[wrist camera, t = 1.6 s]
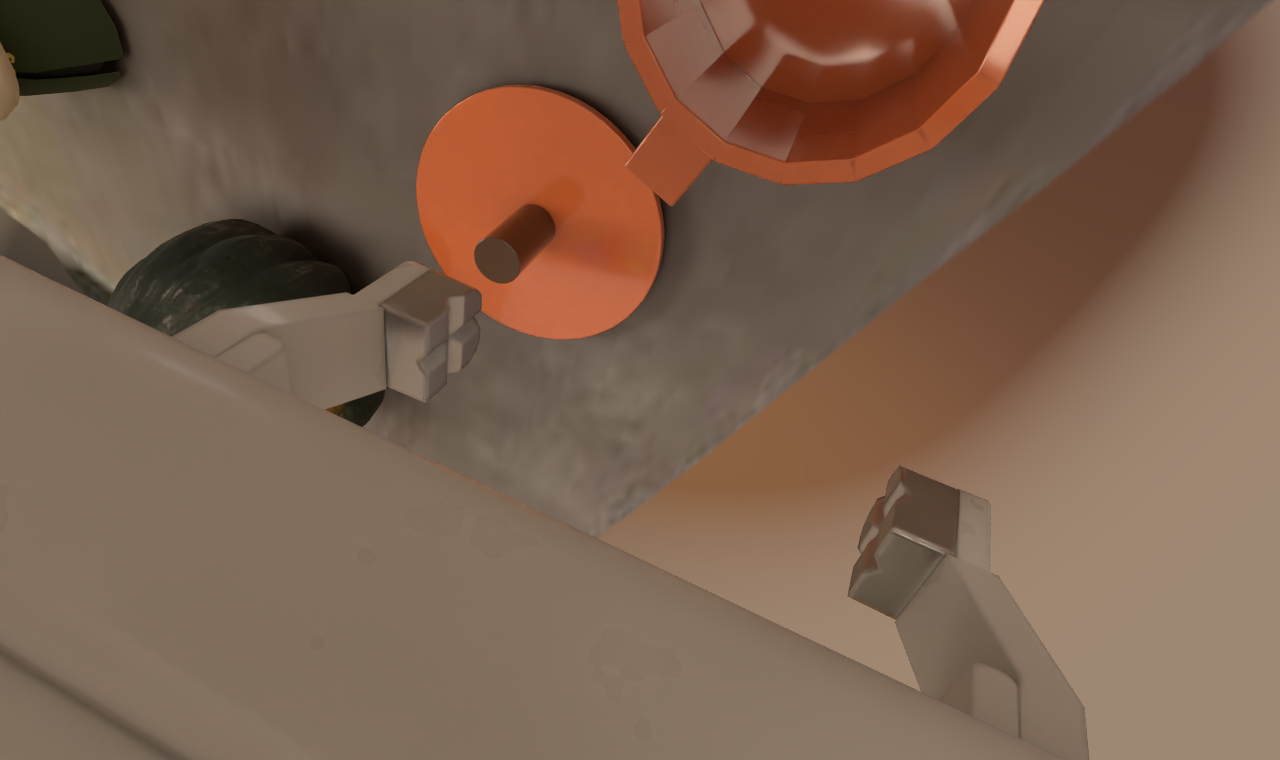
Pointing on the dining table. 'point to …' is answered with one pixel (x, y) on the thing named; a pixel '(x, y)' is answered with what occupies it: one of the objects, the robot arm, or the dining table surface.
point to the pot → (811, 82)
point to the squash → (229, 283)
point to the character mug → (54, 48)
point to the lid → (539, 211)
